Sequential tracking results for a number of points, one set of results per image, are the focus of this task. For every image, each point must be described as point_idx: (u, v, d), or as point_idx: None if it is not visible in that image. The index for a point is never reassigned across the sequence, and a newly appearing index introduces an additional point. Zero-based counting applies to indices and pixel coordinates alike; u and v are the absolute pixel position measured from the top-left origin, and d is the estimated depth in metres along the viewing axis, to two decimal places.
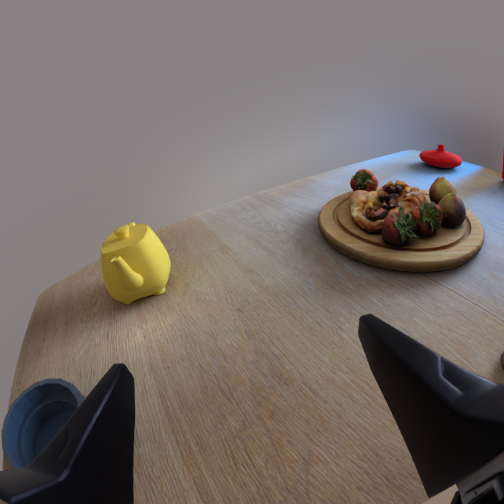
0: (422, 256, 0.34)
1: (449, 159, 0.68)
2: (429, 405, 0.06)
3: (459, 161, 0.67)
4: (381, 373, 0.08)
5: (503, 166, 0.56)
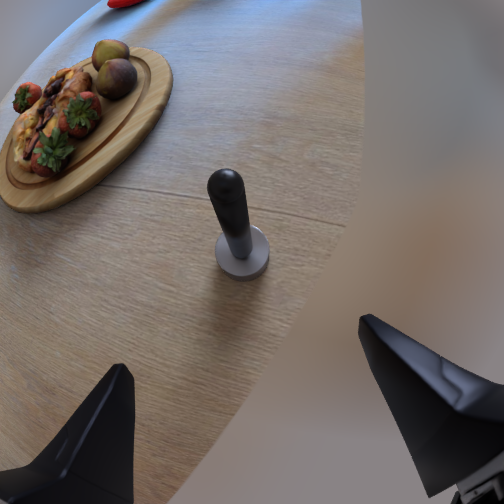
0: (85, 170, 0.26)
1: None
2: (430, 405, 0.05)
3: None
4: (381, 373, 0.08)
5: None
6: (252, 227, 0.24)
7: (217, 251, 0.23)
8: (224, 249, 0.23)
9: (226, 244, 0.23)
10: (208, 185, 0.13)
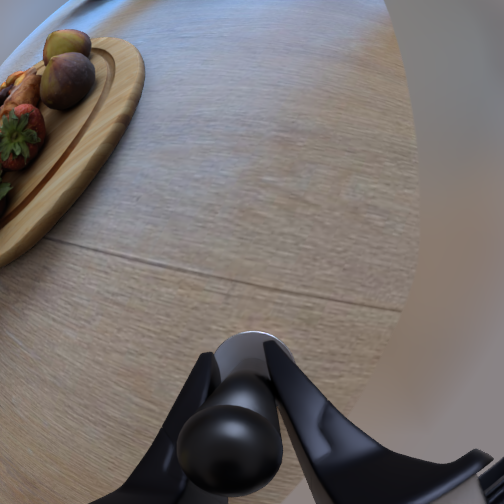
0: (24, 221, 0.17)
1: None
2: (302, 452, 0.05)
3: None
4: (278, 403, 0.08)
5: None
6: (268, 336, 0.14)
7: None
8: (225, 374, 0.13)
9: (227, 365, 0.14)
10: (180, 463, 0.03)
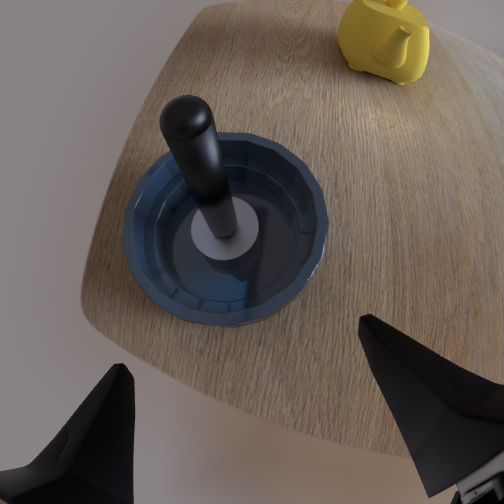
0: None
1: None
2: (429, 405, 0.06)
3: None
4: (381, 373, 0.08)
5: None
6: (237, 199, 0.19)
7: (193, 230, 0.18)
8: (202, 228, 0.18)
9: (205, 221, 0.18)
10: (160, 118, 0.08)
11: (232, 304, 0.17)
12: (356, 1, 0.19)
